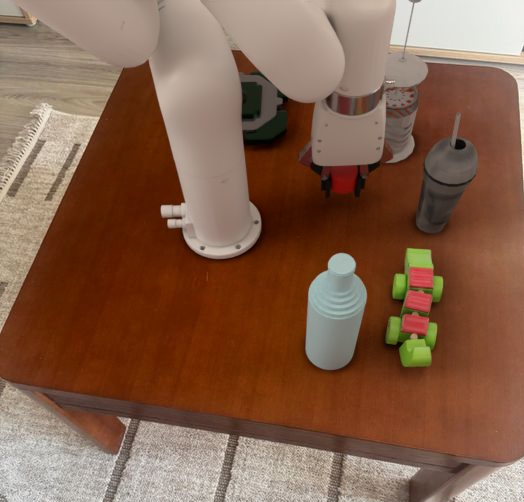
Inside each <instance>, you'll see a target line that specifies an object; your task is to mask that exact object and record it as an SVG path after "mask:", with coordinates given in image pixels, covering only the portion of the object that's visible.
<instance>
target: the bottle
mask: <svg viewBox="0 0 524 502" xmlns="http://www.w3.org/2000/svg"><path fill="white" fill-rule="evenodd" d="M356 268H357V261H356V260H355V259H354V257H352V256H351V255H350V254H348V253H344V252H339V253H335V254H334V255H332V256H331V257H330V258H329V259H328V261H327V270H324V271H323V272H321V273H319V274H318V275H317V276H316V277H315V278H314V279H313V280H312V281H311V284H310V285H309V288H308V291H307V292H308V295H307V311H306V313H307V314H306V333H305V346H304V347H305V354H306V357H307V359H308V360H309V361H310V363H312V364H313V365H314V366H315V367H317V368H319V369H322V370H325V371H335V370H339V369H342V368H344V367H346V366H347V365H348V364H349V363H350V362H351V361H352V358H353V356H354V354H355V350H356V345H357V342H358V337H359V333H360V328H361V325H362V320H363V316H364V312H365V308H366V304H367V300H368V292H367V289H366V286H365V284H364V282H363V281H362V279H361V278H360V277H359V276H358V275H357V274H355V272H356Z"/></svg>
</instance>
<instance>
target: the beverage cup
mask: <svg viewBox="0 0 524 502" xmlns="http://www.w3.org/2000/svg"><path fill="white" fill-rule="evenodd" d="M460 120H461V112H456V115H455V120H454V125H453V131H452V136H449V137H444V138H443V139H441V140H439V141H438V142H436V143H435V144H434V145H433V146H432V148H430V150H429V151H428V153H427V155H426V156H425V158H424V161H423V163H422V166H423V168H422V182H421V187H420V193H419V199H418V204H417V210H416V218H415V224H416V226H417V228H418V229H419V230H420V231H422V232H424V233H427V234H435V233H436V234H437V233H439V232H442V230H443V229H444V228H445V226H446V224H447V223H448V221H449V220H450V218H451V216H452V214H453V213H454V210H455V209H456V207H457V205H458V203H459V201H460V199H461V198H462V196H463V194H464V192H465V190H466V189H467V188H468V186H469V185H470V184H471V183H472V181H473V180H474V178H475V177H476V176H477V172H478V165H479V155H478V152H477V149H476V148H475V146H474V145H473V143H472V142H471V141H470V140H468V139H467V138H464V137H462V136H458V132H459V131H458V130H459V126H460Z"/></svg>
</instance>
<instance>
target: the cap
mask: <svg viewBox="0 0 524 502" xmlns="http://www.w3.org/2000/svg"><path fill="white" fill-rule="evenodd" d="M357 175H358V167H357V165H345V166H332V168H331V171H330V177H331V191H332V192H334V193H336V194H341V195H342V194H343V195H345V194H349V193H351V192H354V189H355V187H356V180H357Z"/></svg>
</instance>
